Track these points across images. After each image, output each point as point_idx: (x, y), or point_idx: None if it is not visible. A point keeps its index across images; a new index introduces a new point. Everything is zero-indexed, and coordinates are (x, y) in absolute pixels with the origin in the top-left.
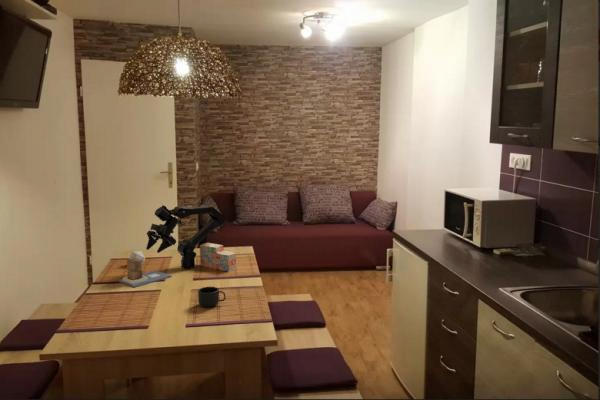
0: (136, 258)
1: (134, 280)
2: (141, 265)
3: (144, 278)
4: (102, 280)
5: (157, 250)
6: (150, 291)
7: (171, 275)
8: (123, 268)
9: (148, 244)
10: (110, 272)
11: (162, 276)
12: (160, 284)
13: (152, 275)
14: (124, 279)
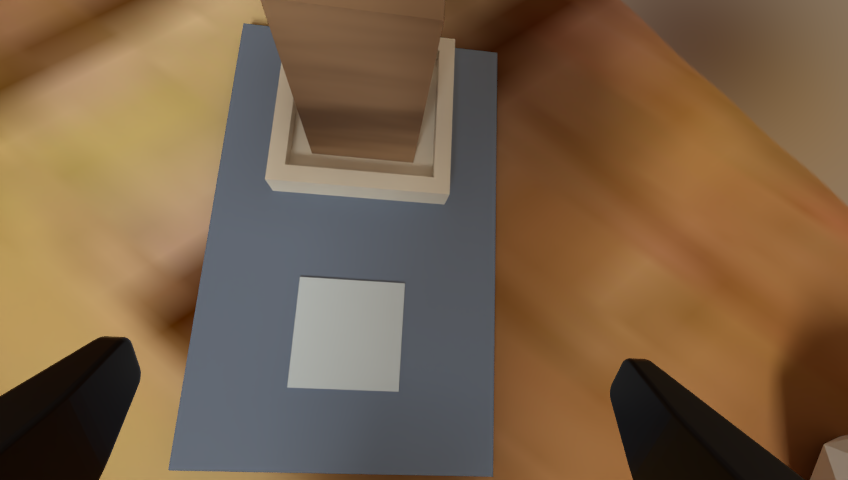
0: (401, 4)
1: None
2: (283, 62)
3: (270, 145)
4: (622, 20)
5: (90, 358)
6: (35, 39)
7: (170, 467)
8: (821, 328)
9: (734, 470)
10: (779, 182)
11: (238, 371)
12: (98, 215)
13: (356, 320)
14: None
